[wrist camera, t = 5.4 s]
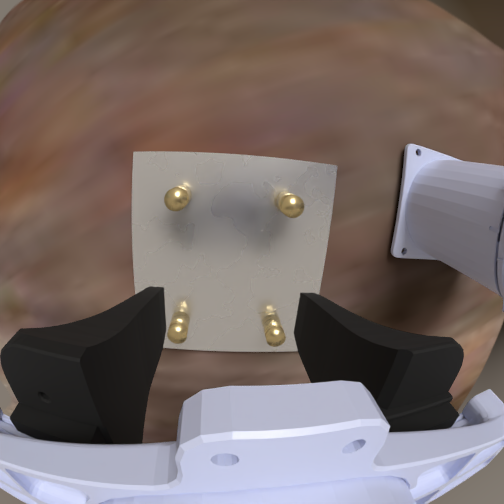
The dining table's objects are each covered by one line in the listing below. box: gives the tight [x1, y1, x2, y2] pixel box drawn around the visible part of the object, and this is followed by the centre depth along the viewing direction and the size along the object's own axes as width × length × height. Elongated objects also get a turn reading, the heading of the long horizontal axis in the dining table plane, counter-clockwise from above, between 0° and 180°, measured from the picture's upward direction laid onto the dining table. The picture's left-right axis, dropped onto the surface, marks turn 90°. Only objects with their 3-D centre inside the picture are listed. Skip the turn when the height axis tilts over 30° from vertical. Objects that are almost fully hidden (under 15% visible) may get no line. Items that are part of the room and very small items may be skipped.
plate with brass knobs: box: [132, 152, 337, 352], centre depth 17 cm, size 12×13×3 cm
